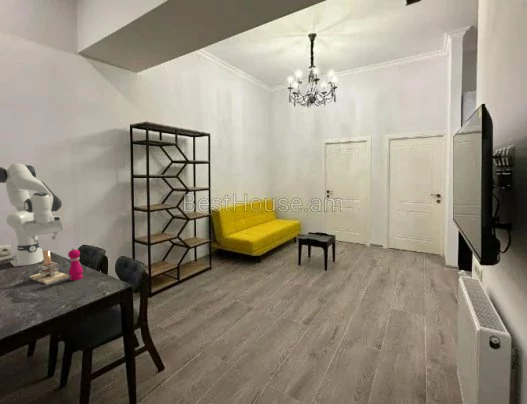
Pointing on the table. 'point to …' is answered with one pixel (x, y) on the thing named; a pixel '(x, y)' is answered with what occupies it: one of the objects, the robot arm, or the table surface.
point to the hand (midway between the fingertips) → (45, 240)
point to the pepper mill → (75, 265)
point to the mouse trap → (53, 273)
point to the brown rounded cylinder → (47, 260)
